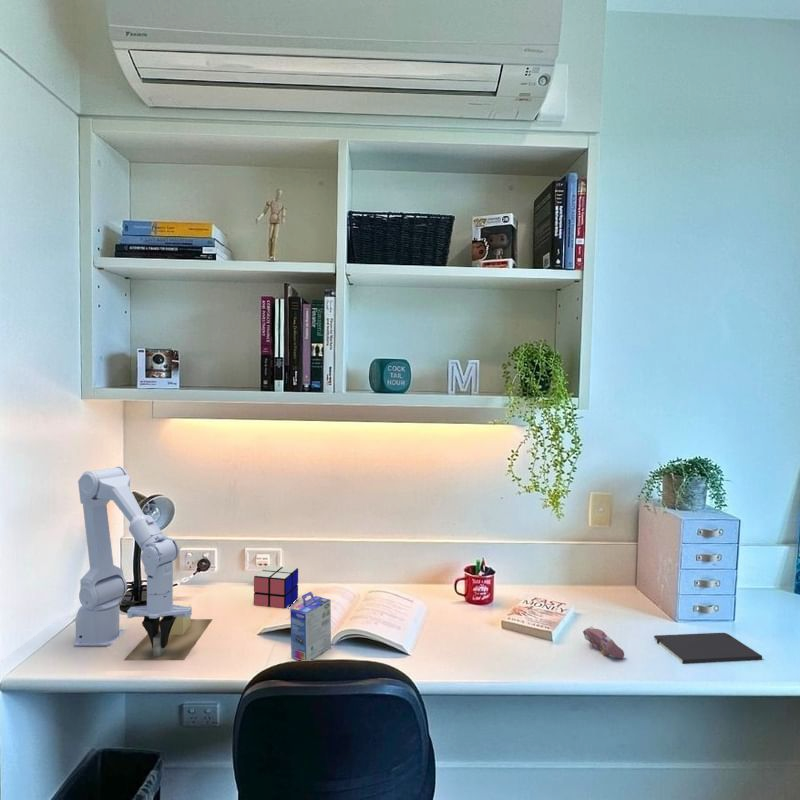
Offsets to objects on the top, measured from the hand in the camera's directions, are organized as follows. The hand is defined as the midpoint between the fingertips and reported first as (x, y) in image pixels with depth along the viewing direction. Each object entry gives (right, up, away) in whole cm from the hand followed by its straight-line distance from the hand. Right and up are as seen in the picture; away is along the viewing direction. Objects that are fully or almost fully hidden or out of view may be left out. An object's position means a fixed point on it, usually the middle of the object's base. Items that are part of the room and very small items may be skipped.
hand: (159, 646), depth 132 cm
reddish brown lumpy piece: (+109, -5, +6) cm, 110 cm away
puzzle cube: (+21, -2, +32) cm, 39 cm away
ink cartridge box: (+36, -4, +4) cm, 36 cm away
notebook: (+137, -6, +9) cm, 137 cm away
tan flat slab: (0, -2, +8) cm, 8 cm away
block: (-1, -1, +12) cm, 12 cm away
